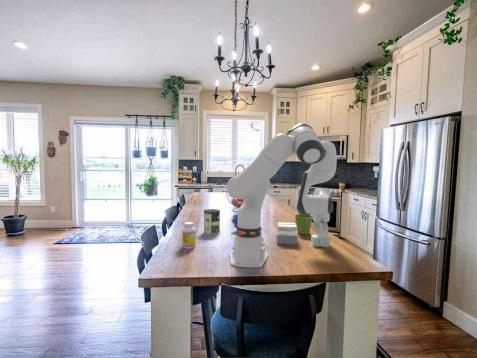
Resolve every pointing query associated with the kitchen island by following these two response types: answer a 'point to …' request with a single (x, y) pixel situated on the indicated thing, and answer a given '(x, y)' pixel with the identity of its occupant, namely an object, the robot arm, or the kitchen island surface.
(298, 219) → the plant pot
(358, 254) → the kitchen island surface
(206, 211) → the coffee can
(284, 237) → the grey base block
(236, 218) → the grapes
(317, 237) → the sage brick
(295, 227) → the cream top block
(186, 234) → the supplement bottle
